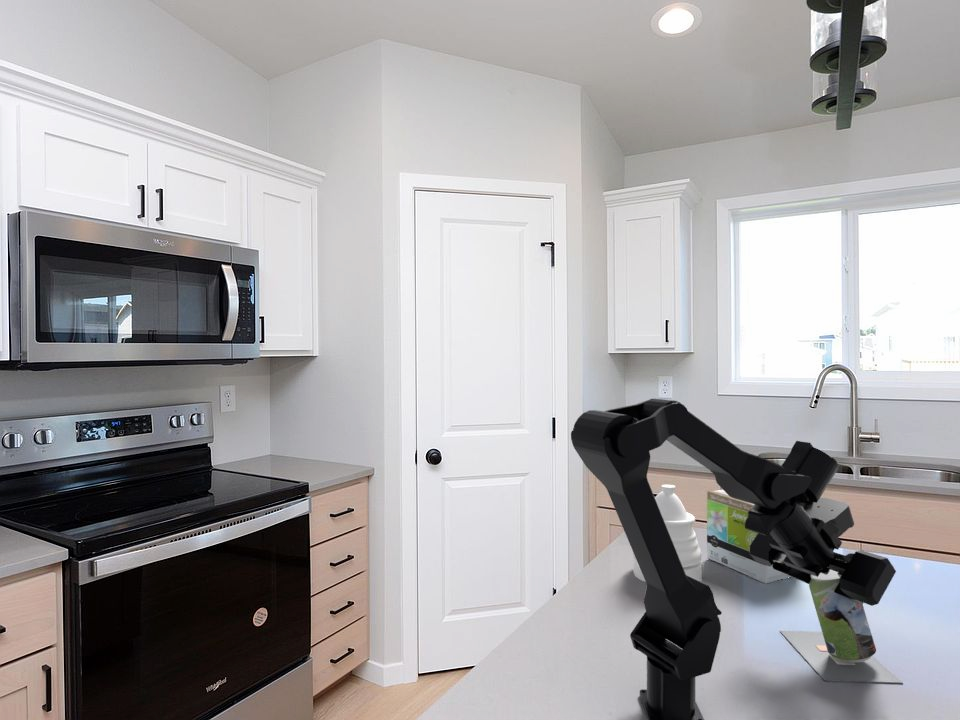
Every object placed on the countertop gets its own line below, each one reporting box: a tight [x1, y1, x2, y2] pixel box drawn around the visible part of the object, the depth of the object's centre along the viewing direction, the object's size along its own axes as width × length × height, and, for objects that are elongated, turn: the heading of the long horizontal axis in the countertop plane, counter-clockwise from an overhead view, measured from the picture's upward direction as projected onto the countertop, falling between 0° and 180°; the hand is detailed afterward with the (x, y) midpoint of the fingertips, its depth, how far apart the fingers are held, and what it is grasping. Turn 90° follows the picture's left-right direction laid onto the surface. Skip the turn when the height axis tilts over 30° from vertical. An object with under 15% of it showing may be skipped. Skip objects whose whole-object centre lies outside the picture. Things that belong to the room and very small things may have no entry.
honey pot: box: [632, 484, 703, 583], centre depth 118 cm, size 13×13×18 cm
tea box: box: [706, 489, 792, 584], centre depth 121 cm, size 15×10×15 cm, turn 25°
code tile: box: [779, 630, 904, 685], centre depth 87 cm, size 14×10×1 cm
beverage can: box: [808, 570, 877, 663], centre depth 85 cm, size 6×7×12 cm
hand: (842, 594), depth 87 cm, fingers closed on beverage can, 5 cm apart
